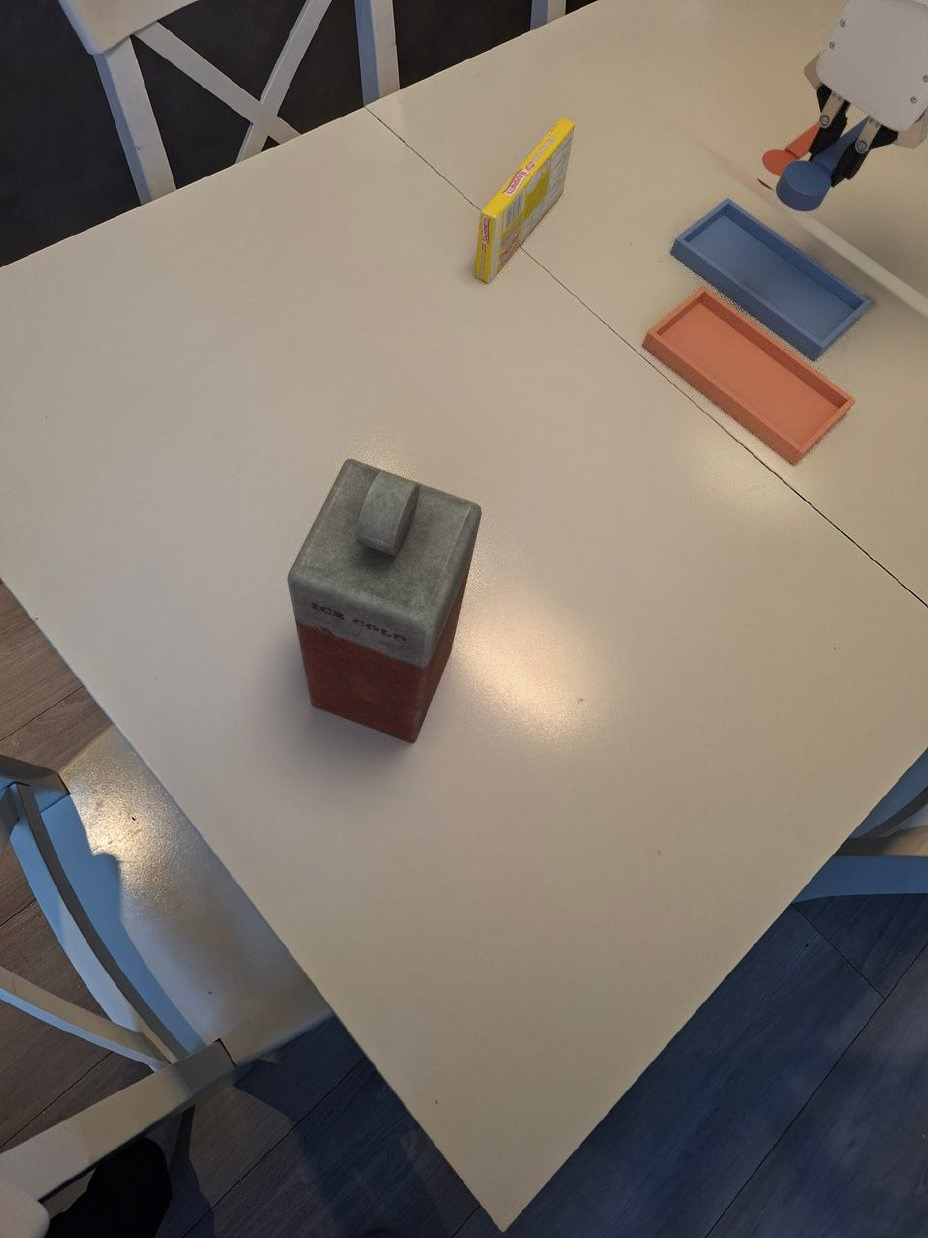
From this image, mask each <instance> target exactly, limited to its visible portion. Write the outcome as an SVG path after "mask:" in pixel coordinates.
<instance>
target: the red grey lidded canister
mask: <svg viewBox="0 0 928 1238" xmlns="http://www.w3.org/2000/svg"><path fill="white" fill-rule="evenodd" d="M482 512H483V511H482V507H481V505H479V504H478V503H476V502H474V501H470V500H468V499H465V498H462V497H459V496H457V495H453V494H451V493H448V492H445V491H443V490H440V489H437V488H435V487H432V486H430V485H429V486H428V485H426V484H424V483H421V482H418V481H415V480H412V479H409V478H407V477H404V476H402V475H398V474H396V473H392V472H389V471H387V470H384V469H381V468H378V467H376V466H373V465H370V464H368V463H364V462H362V461H359V460H356V459H353V458H347V459H346V460H345V461H344V462H343V463H342V466H341V468H340V470H339V472H338V474H337V476H336V478H335V480H334V482H333V484H332V486H331V488H330V490H329V492H328V494H327V495H326V497H325V499H324V502H323V504H322V506H321V508H320V510H319V512H318V513H317V516H316V518H315V520H314V522H313V524H312V526H311V528H310V529H309V531H308V534H307V535H306V537H305V540H304V541H303V543H302V546H301V547H300V550H299V551H298V553H297V555H296V557H295V559H294V561H293V564H292V566H291V567H290V570H289V571H288V574H287V586H288V591H289V597H290V603H291V607H292V612H293V616H294V617H293V618H294V622H295V627H296V633H297V638H298V642H299V648H300V652H301V653H300V654H301V658H302V662H303V668H304V673H305V678H306V684H307V687H308V688H307V689H308V694H309V699H310V704H311V706H312V707H313V708H315V709H318V710H321V711H324V712H327V713H329V714H332V715H335V716H337V717H339V718H342V719H345V720H347V721H351V722H353V723H356V724H358V725H362V726H364V727H366V728H369V729H372V730H375V731H377V732H380V733H382V734H385V735H388V736H390V737H393V738H396V739H398V740H401V741H403V742H406V743H409V744H414V743H416V742H417V740H418V737H419V735H420V732H421V729H422V727H423V724H424V722H425V720H426V717H427V714H428V711H429V709H430V707H431V705H432V702H433V699H434V696H435V694H436V691H437V689H438V686H439V684H440V682H441V679H442V677H443V674H444V671H445V669H446V666H447V663H448V662H449V659H450V656H451V654H452V651H453V647H454V641H455V637H456V633H457V628H458V625H459V624H458V623H459V619H460V614H461V611H462V606H463V601H464V597H465V592H466V588H467V583H468V579H469V573H470V569H471V564H472V561H473V556H474V551H475V546H476V542H477V538H478V533H479V528H480V525H481V520H482V514H483V513H482Z"/></svg>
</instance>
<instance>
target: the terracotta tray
mask: <svg viewBox="0 0 928 1238" xmlns="http://www.w3.org/2000/svg"><path fill="white" fill-rule="evenodd" d="M641 346H642V347H643V348H644V349H646V350H647V351H649V352H650V353H651V354H652V355H653V356H655V357H656V358H657V359H659V360H660V361H661V362H662V363H663V364H665V365H666V366H667V367H668V368H670V370H672V371H673V372H675V373H676V374H677V375H679V376H680V377H681V378H683V379H684V380H685V381H687V382H688V383H689V384H690V385H692V386H693V387H694V388H695V389H697V391H699V392H700V393H702V395H705V397H707V398H708V399H709V400H710V401H712V402H713V403H714V404H715V405H717V406H718V407H719V408H720V409H722V410H723V411H724V412H725V413H727V414H728V415H730V416H731V417H732V418H733V419H735V420H736V421H737V422H738V423H740V424H741V425H742V426H743V427H745V428H746V429H747V430H748V431H750V432H751V433H752V434H754V435H755V436H756V437H757V438H758V439H760V440H761V441H762V442H764V443H765V444H766V445H767V446H769V447H770V448H771V449H772V450H774V451H775V452H777V453H778V454H779V456H782V457H783V458H784V459H785V460H787V461H788V462H789V463H790V464H791V465H793V466H795V465H796V464H797V463H798V462H799V461H800V460H801V459H803V457H805V455H806V454H807V453H808V452H809V451H810V450H811V449H812V448H814V446H815V445H817V443H818V442H819V441H820V440H822V438H823V437H824V436H825V435H826V434H827V433H828V432H830V430H831V429H833V427H834V426H835V425H836V424H837V423H838V422H840V420H841V419H842V418H843V417H844V416H845V415H846V414H847V413H848V412H849V410H850V409H851V408H852V407H853V405H854V404H855V403H856V402H857V400H856V399H855V398H854V397H853V396H851V395H850V394H849V393H847V392H846V391H844V390H843V389H842V388H840V387H839V386H838V385H837V384H835V383H834V382H832V381H831V380H830V379H828V378H827V377H826V376H825V375H824V374H822V373H820V372H819V371H818V370H817V369H815V368H814V367H813V366H811V365H810V364H808V362H806V361H804V360H803V359H802V358H801V357H800V356H798V355H797V354H796V353H794V352H793V351H792V350H790V349H789V348H787V347H786V346H785V345H783V344H782V343H781V342H779V341H778V340H776V338H774V337H773V336H771V334H769V333H768V332H766V331H765V330H764V329H762V328H761V327H760V326H758V325H757V324H756V323H754V322H753V321H751V320H750V319H749V318H747V316H745V315H744V314H742V313H741V312H740V311H739V310H737V309H736V308H734V307H733V306H732V305H730V304H729V303H728V302H726V301H725V300H724V299H722V298H721V297H720V296H719V295H717V294H716V293H714V292H713V291H712V290H710V289H709V288H708V287H706V285H702V286H701V287H699V289H697V290H695V292H694V293H693V294H691V295H690V296H689V297H688V298H686V299H685V300H684V301H683V302H682V303H680V304H679V305H678V306H677V307H675V309H673V310H672V311H670V313H668V314H667V315H666V316H665V317H663V318H662V319H661V320H660V321H659V322H657V323H656V324H655V325H654V326H653V327H652V328H650V329H649V330H648V331H647V332H646V335H645V337H644V340H643V342H642V344H641Z"/></svg>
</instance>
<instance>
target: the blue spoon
mask: <svg viewBox="0 0 928 1238" xmlns="http://www.w3.org/2000/svg"><path fill="white" fill-rule="evenodd" d="M869 118H870V116H869V115H867V116H866V117H865V118H864V119H862V120H860V122H858V123H857V124H855V125H854V126H853V127H851V128H850V129H849V130H848V131H846V132H845V133H844V134H842V135H841V137H840V138H839V139H838V140H837V141H836V142H834V143H833V144H832V145H830V146H829V147H828V148H827V149H825V150H824V151H823V152H821V153H819V154H818V155H816V156H815V157H814V158H813V160H812V162H810V161H808V160H805V159H799V160H798V159H797V161H793V162H791V163H789V164H788V165H787V166H786V167H785V169H784V171H783V173H782V175H781V176H779V179H778V181H777V183H776V185H775V193H776V196H777V198H778V200H779V201H780V202H781V203H782V204H784V206H786V207H788V208H790V209H792V210H795V211H799V212H812V211H814V210H816V209H818V208H820V206H821V205H822V204H823V202H824V200H825V199H826V196H827V194H828V193H829V191H830V189H831V188H832V187H831V176H832V174H833V172H834V171H835V169H836V167H837V164H838V162H839V160H840V158H841V156H842V155H843V153H844V151H845V149H846V148H847V147H848V146H849V145H850V144H851V143H853V142H854V141H855V140H856V138H858V137H859V136H860V134H861V132H862V130H863V128H864V127H865V125H866V123H867V121H868V119H869Z"/></svg>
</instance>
